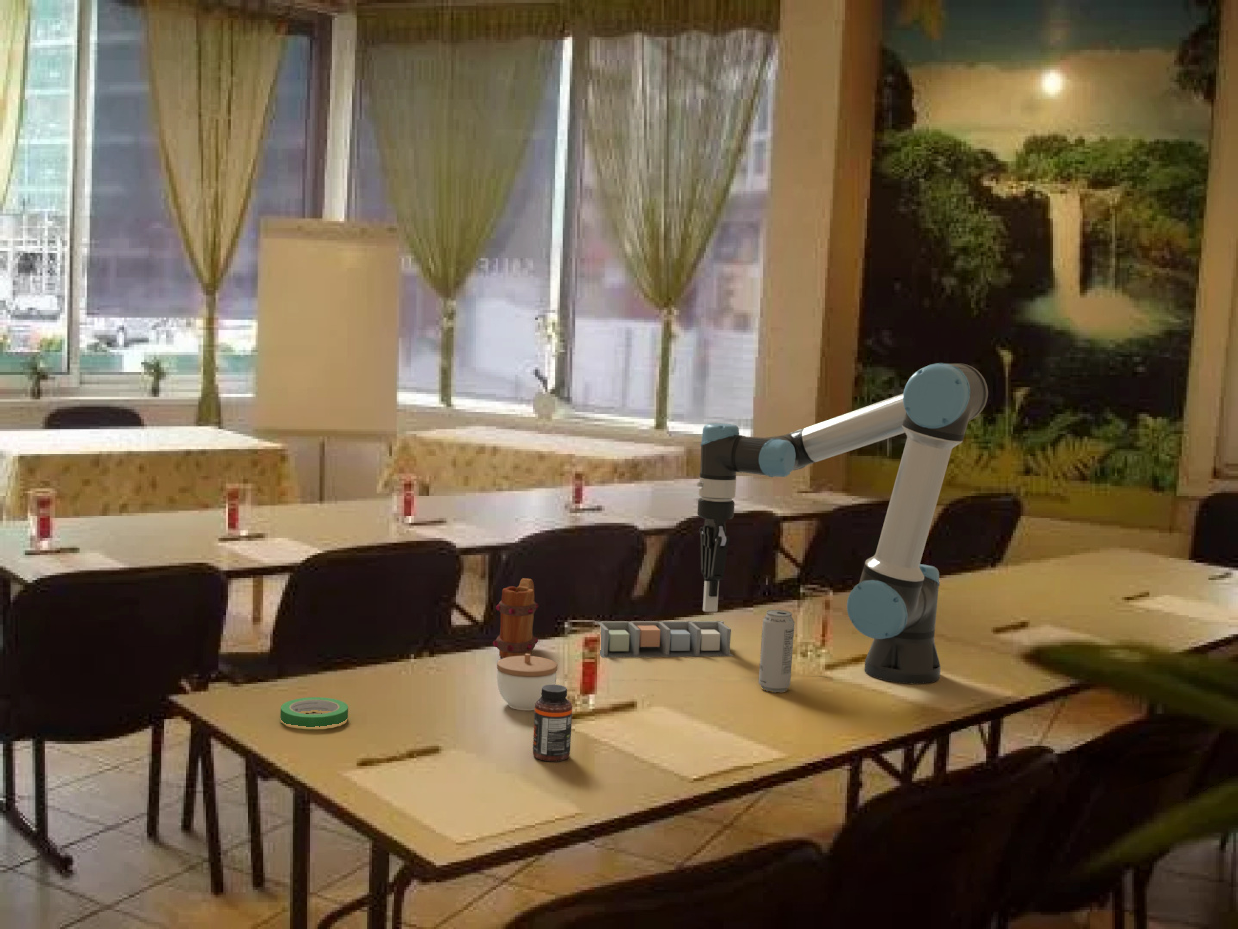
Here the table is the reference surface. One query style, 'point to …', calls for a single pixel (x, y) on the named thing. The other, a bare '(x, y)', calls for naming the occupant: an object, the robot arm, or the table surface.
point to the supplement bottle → (552, 724)
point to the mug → (516, 620)
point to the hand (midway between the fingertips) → (710, 610)
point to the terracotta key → (649, 636)
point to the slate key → (679, 640)
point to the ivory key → (709, 640)
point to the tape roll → (311, 720)
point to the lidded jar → (524, 679)
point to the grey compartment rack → (665, 638)
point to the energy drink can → (776, 650)
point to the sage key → (618, 640)
